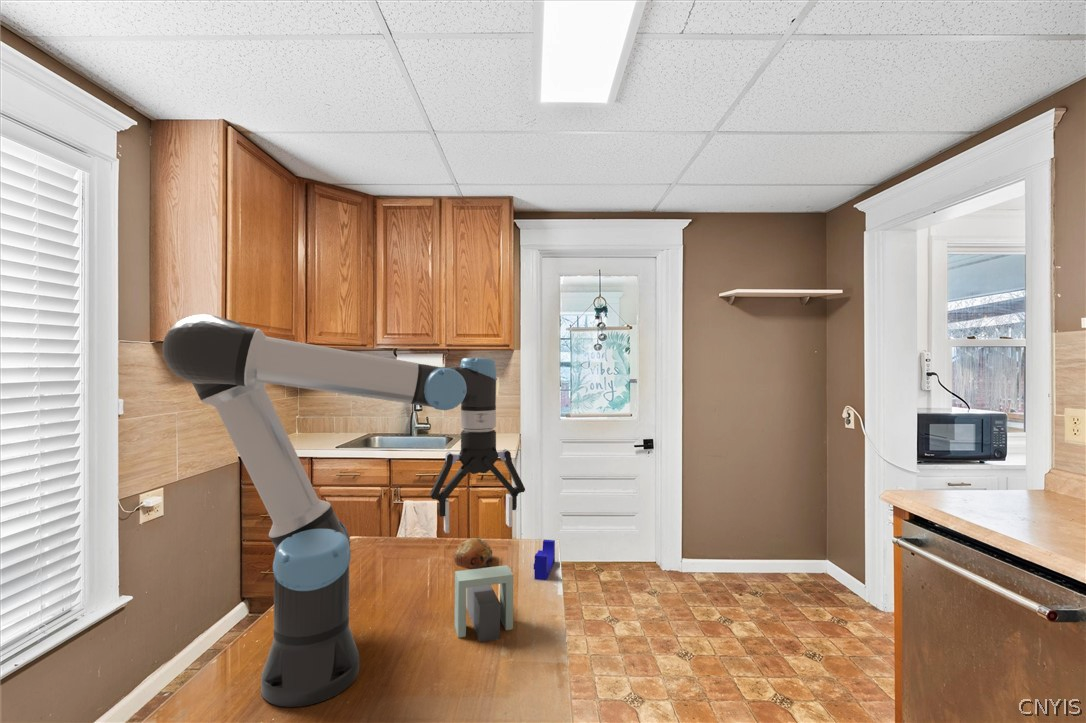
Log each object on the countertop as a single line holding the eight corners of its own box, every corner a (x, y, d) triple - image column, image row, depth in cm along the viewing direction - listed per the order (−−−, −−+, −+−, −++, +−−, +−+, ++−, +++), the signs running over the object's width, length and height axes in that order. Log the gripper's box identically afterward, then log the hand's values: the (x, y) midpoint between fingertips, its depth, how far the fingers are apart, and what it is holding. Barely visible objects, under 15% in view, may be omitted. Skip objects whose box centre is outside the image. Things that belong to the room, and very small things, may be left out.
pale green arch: (458, 637, 100) (458, 581, 100) (454, 625, 105) (454, 571, 105) (513, 629, 104) (513, 574, 104) (507, 617, 108) (507, 565, 108)
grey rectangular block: (479, 642, 99) (479, 605, 99) (465, 604, 114) (465, 573, 114) (499, 639, 100) (500, 602, 100) (483, 602, 115) (483, 571, 115)
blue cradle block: (538, 561, 140) (538, 539, 140) (554, 562, 139) (554, 540, 139) (528, 579, 128) (528, 555, 128) (546, 581, 127) (546, 556, 127)
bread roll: (482, 567, 144) (475, 538, 147) (503, 561, 137) (495, 530, 140) (452, 577, 138) (445, 546, 140) (472, 571, 131) (464, 539, 133)
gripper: (420, 434, 104) (420, 539, 104) (539, 429, 111) (538, 527, 111) (417, 429, 111) (417, 528, 111) (529, 425, 119) (529, 517, 119)
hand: (478, 528), depth 111 cm, fingers open, 13 cm apart
